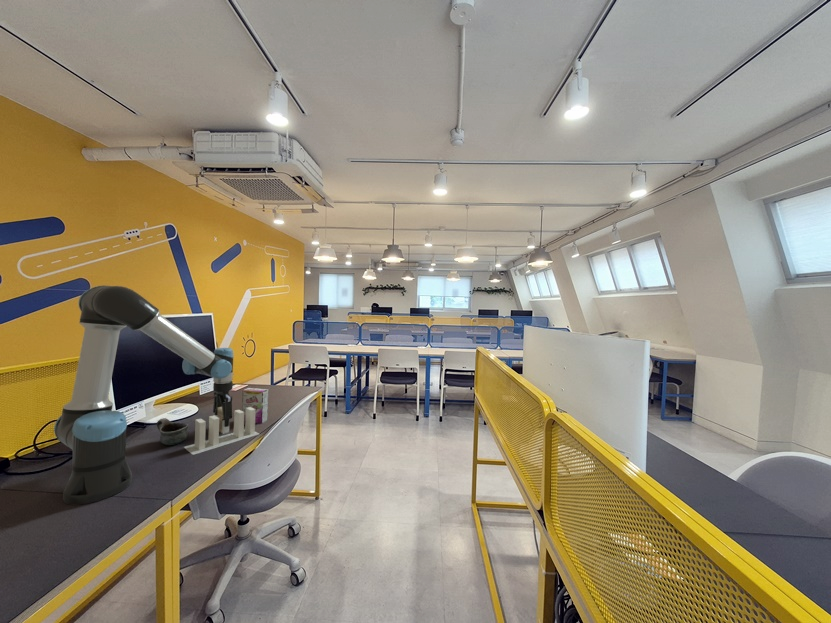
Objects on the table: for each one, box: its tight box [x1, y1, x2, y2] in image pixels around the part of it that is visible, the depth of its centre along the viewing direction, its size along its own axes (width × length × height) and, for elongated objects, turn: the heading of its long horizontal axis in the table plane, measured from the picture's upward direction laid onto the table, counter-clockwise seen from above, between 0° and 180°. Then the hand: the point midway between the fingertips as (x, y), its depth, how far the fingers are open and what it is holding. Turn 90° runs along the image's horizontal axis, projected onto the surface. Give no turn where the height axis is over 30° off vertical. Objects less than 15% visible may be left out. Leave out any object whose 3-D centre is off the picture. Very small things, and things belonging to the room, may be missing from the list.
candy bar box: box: [241, 387, 269, 424], centre depth 155 cm, size 11×5×16 cm, turn 84°
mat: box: [183, 428, 260, 456], centre depth 133 cm, size 26×10×1 cm, turn 144°
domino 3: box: [233, 409, 245, 438], centre depth 138 cm, size 2×5×11 cm, turn 54°
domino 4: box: [244, 407, 256, 434], centre depth 142 cm, size 2×5×11 cm, turn 54°
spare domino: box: [217, 406, 223, 434], centre depth 142 cm, size 2×5×11 cm, turn 54°
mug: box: [156, 417, 189, 446], centre depth 129 cm, size 10×12×10 cm
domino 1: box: [194, 418, 207, 450], centre depth 126 cm, size 2×5×11 cm, turn 54°
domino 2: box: [207, 414, 220, 446], centre depth 130 cm, size 2×5×11 cm, turn 54°
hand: (222, 430), depth 142 cm, fingers open, 7 cm apart
